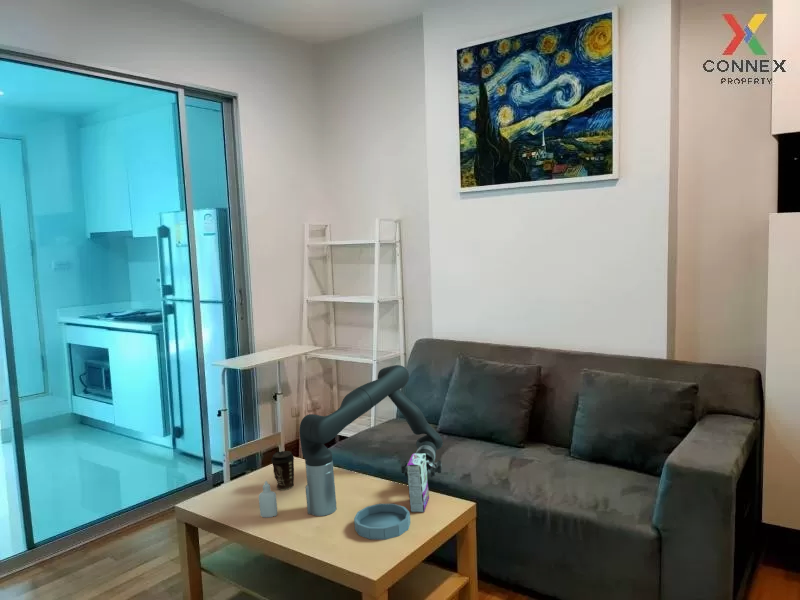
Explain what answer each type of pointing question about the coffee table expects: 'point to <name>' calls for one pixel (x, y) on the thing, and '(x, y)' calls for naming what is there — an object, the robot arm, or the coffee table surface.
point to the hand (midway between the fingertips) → (419, 474)
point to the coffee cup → (283, 469)
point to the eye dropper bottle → (267, 502)
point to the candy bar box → (418, 482)
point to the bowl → (382, 521)
